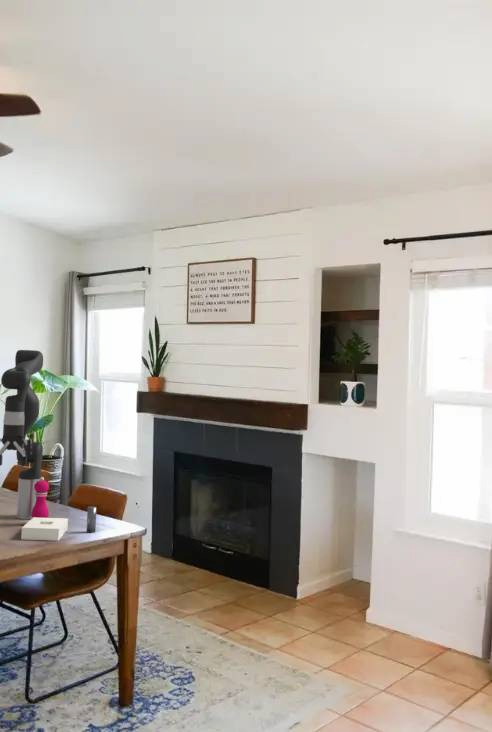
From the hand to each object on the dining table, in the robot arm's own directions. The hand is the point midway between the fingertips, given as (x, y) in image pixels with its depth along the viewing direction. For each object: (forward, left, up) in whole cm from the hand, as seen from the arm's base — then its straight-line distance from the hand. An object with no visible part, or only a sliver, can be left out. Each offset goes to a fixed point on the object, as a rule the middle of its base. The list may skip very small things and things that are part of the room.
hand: (11, 465), depth 273 cm
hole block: (-12, +12, -28) cm, 33 cm away
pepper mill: (-30, +6, -29) cm, 42 cm away
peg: (-19, +29, -28) cm, 45 cm away
